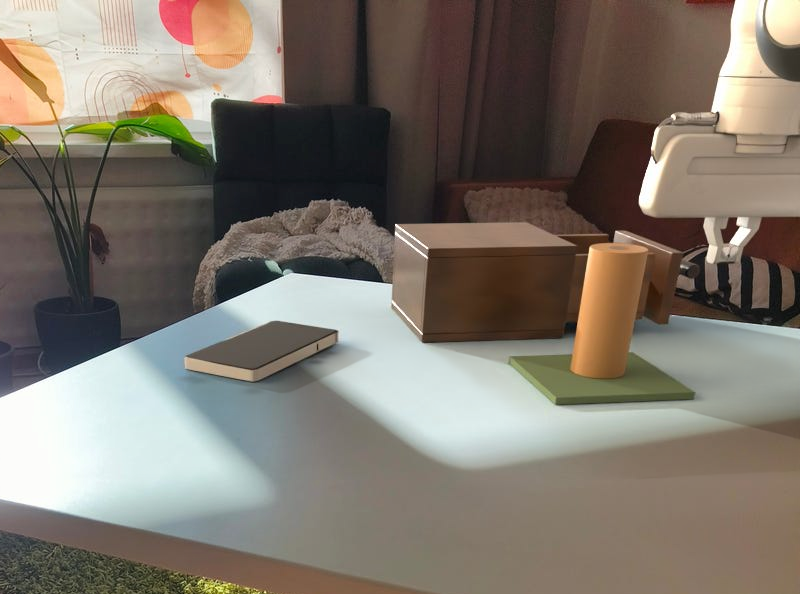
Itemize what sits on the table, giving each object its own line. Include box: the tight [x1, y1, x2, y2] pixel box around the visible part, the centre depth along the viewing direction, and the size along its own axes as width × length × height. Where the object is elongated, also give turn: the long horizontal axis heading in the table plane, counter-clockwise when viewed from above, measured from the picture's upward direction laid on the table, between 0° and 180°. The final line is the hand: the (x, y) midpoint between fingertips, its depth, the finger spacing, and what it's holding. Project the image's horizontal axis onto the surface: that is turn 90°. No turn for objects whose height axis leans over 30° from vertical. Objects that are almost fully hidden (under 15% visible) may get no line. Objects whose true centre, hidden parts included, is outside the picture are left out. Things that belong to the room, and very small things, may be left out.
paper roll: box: [570, 242, 648, 379], centre depth 75 cm, size 5×5×10 cm
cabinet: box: [390, 221, 577, 343], centre depth 92 cm, size 15×15×9 cm
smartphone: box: [183, 320, 339, 383], centre depth 83 cm, size 8×1×15 cm
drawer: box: [554, 230, 701, 325], centre depth 94 cm, size 18×13×7 cm
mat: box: [508, 351, 696, 406], centre depth 78 cm, size 12×12×1 cm
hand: (722, 263), depth 95 cm, fingers closed
